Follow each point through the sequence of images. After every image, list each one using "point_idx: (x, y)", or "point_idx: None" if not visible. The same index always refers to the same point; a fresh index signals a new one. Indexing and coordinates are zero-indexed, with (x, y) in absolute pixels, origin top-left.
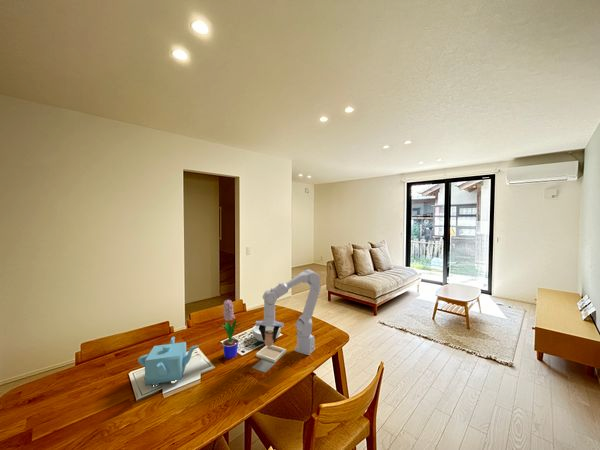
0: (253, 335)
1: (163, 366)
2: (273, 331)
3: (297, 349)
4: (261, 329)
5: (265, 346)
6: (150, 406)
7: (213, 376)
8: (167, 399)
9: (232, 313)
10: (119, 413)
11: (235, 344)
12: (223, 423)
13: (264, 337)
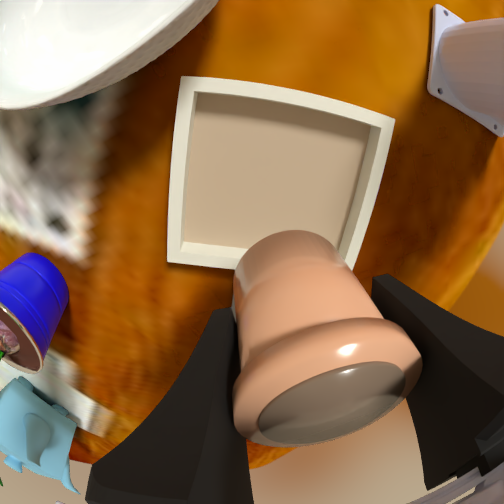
0: (7, 81)
1: (68, 477)
2: (422, 457)
3: (450, 86)
4: None
5: (180, 129)
6: (107, 446)
7: (118, 395)
8: (112, 440)
9: None
10: (88, 449)
11: (40, 356)
12: (275, 454)
13: (239, 361)
